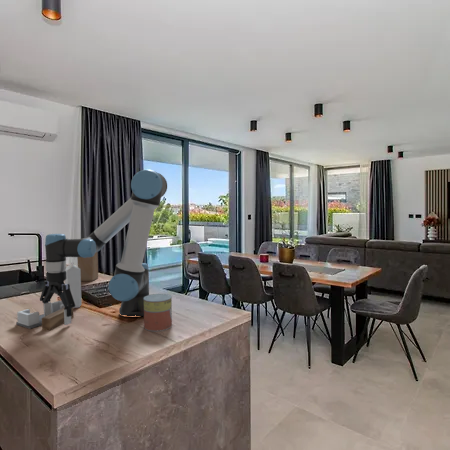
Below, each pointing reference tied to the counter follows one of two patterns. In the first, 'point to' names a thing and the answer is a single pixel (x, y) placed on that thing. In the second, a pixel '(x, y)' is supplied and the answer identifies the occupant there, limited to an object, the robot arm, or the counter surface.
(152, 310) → the canned food
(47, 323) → the slat
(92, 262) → the wooden block
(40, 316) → the endcap rail
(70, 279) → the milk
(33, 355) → the counter surface
